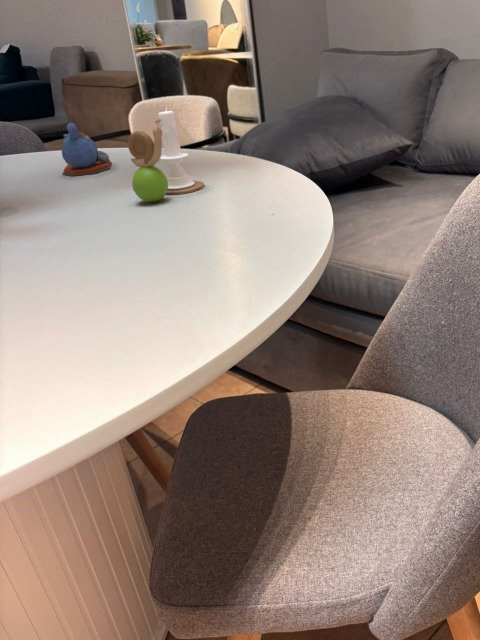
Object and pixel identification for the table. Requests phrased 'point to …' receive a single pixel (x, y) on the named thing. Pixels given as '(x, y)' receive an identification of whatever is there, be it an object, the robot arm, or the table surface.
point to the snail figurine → (148, 165)
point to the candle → (173, 152)
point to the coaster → (186, 189)
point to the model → (82, 154)
